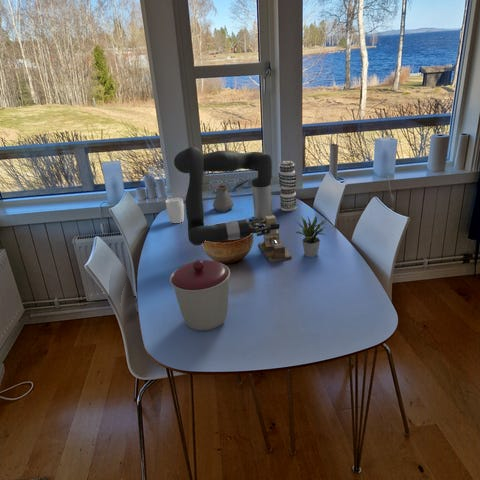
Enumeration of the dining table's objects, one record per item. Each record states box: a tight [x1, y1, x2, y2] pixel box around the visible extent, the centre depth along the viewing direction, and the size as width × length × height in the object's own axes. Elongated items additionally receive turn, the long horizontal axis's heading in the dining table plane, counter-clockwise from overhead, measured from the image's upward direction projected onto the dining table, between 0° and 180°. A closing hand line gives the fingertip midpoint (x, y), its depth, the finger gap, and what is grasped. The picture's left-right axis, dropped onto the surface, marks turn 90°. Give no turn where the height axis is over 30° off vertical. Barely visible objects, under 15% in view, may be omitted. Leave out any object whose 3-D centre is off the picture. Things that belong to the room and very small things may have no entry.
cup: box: [165, 196, 185, 224], centre depth 208 cm, size 9×9×12 cm
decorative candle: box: [277, 160, 298, 212], centre depth 210 cm, size 9×9×25 cm
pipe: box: [270, 237, 279, 246], centre depth 167 cm, size 16×2×2 cm, turn 12°
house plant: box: [294, 215, 330, 258], centre depth 159 cm, size 14×14×16 cm
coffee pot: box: [212, 179, 250, 212], centre depth 220 cm, size 21×12×15 cm, turn 97°
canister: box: [169, 259, 231, 332], centre depth 123 cm, size 18×18×21 cm
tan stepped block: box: [263, 214, 280, 247], centre depth 168 cm, size 3×6×13 cm, turn 102°
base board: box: [258, 238, 293, 263], centre depth 167 cm, size 18×9×6 cm, turn 12°
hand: (276, 223), depth 167 cm, fingers open, 5 cm apart
